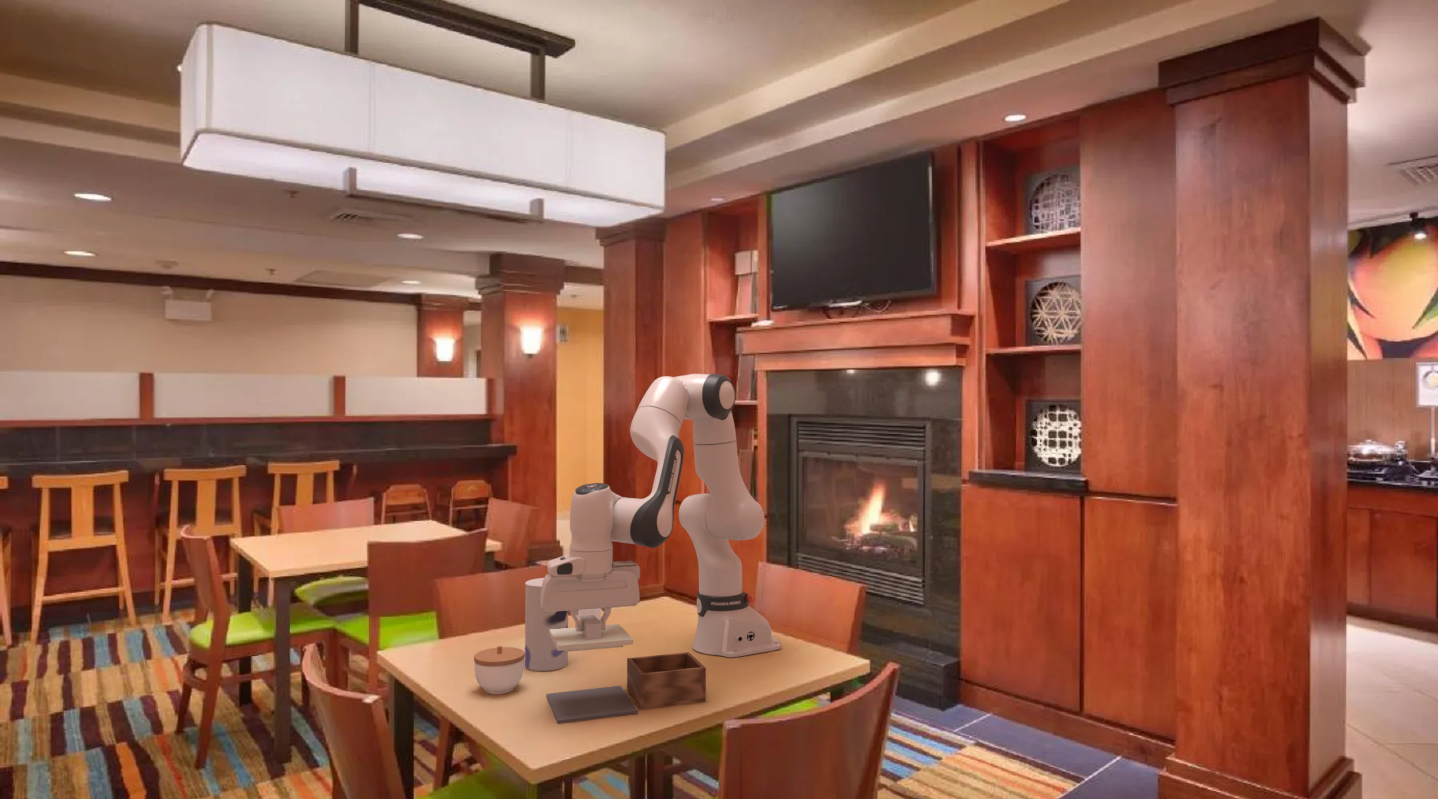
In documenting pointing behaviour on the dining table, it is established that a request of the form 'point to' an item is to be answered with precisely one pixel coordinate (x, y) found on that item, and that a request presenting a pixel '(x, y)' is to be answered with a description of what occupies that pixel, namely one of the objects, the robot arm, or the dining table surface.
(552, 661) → the container
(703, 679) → the box
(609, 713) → the mat
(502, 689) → the lidded jar
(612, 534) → the robot arm
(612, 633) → the lid
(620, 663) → the dining table surface
